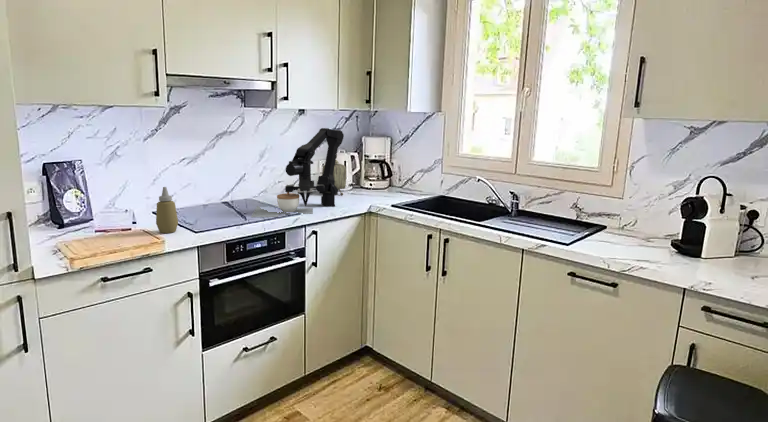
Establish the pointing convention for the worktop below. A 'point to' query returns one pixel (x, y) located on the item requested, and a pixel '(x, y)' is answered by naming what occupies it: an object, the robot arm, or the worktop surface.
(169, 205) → the squeeze bottle
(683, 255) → the worktop surface
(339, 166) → the olive tall container
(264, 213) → the t mat
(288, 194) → the lidded jar
